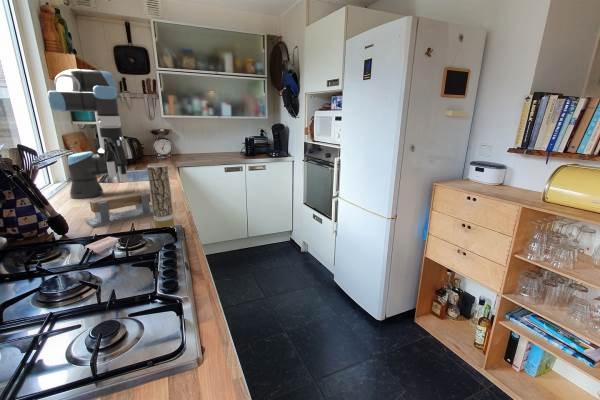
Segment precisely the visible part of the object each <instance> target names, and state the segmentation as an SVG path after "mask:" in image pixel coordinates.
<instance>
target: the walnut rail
mask: <svg viewBox="0 0 600 400" xmlns="http://www.w3.org/2000/svg"><path fill="white" fill-rule="evenodd" d="M136 193H137V192H136ZM141 195H148V198H149V203H152V199H151V192H150V193H149V192H147V191H144V192H142V193H137V194H134V193H131V194H125V195H121V196H119V195H118V196H113V197H108V198H107V197H105V198H101V199H100V198H99V199H100V200H94V199H93V200H94V201H93V200H90V201H89V205H90V206H89V207H90V211H91V212H92V213H94V214H95V213H96V212H99V208H98V203H100V202H107V205H108V210H109V211H110V210H111V211H112V210H117V209H123V208H126V207H131V206H136V205H138V204H141V199H140V196H141Z"/></svg>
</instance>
